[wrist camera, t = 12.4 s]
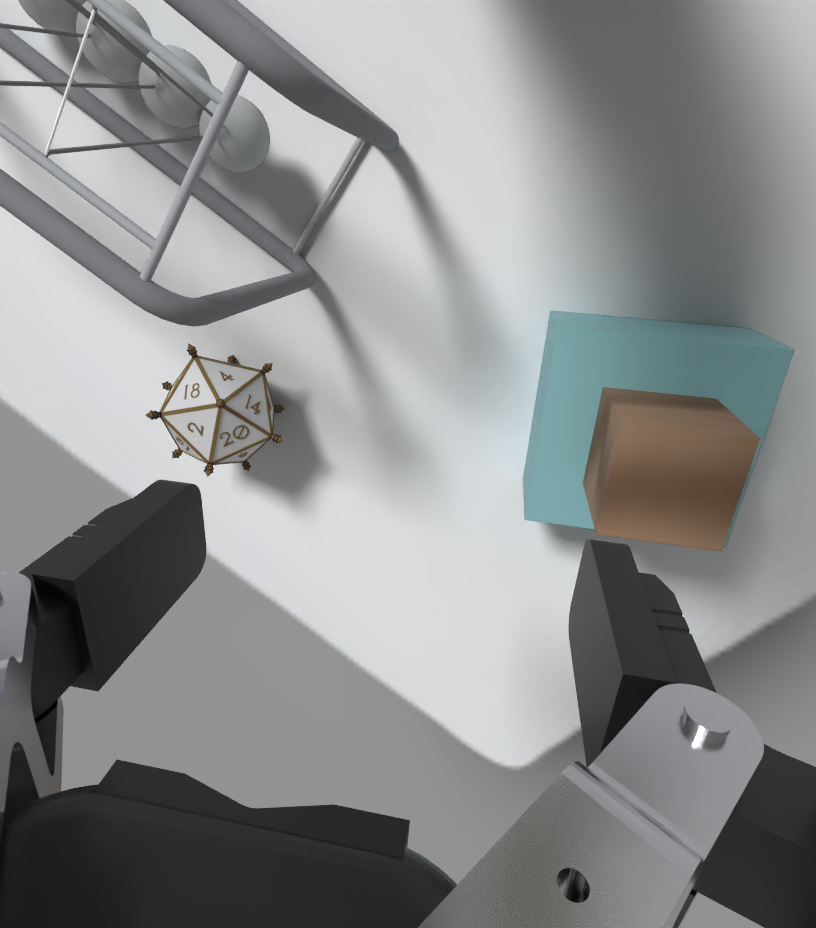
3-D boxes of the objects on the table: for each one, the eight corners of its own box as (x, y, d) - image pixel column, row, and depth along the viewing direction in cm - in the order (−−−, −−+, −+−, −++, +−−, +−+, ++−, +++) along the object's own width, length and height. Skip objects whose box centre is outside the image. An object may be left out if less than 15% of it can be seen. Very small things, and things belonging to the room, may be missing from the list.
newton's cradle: (-82, -21, 34) (-599, -226, 18) (-39, -229, 30) (-668, -734, 14) (318, 287, 38) (177, 341, 22) (408, 142, 34) (314, 76, 18)
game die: (273, 359, 44) (286, 327, 35) (287, 466, 45) (305, 463, 35) (149, 368, 42) (127, 335, 32) (166, 482, 42) (149, 484, 32)
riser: (550, 310, 36) (557, 327, 30) (749, 328, 34) (794, 349, 29) (522, 479, 41) (524, 519, 35) (696, 501, 39) (725, 547, 34)
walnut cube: (602, 386, 31) (621, 422, 26) (716, 398, 31) (760, 438, 25) (582, 483, 34) (596, 534, 28) (686, 496, 33) (721, 551, 28)
